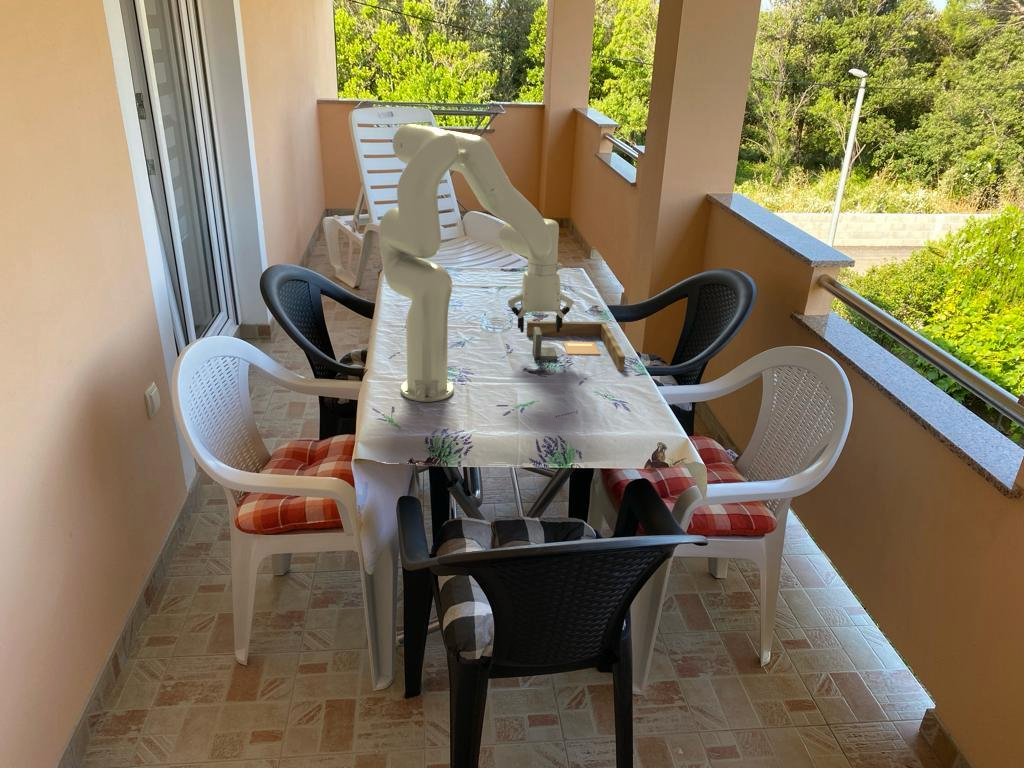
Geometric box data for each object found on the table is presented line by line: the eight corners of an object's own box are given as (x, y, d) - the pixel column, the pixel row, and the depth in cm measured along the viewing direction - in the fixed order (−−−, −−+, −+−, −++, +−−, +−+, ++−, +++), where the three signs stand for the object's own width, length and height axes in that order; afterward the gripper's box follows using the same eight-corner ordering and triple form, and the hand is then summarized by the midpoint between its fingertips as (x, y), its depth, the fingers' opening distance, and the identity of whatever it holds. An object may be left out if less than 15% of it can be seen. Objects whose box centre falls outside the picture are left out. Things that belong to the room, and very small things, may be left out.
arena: (623, 370, 194) (625, 356, 192) (536, 370, 192) (537, 355, 190) (604, 335, 218) (605, 322, 216) (526, 334, 216) (527, 321, 214)
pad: (599, 355, 203) (600, 353, 203) (567, 354, 202) (567, 353, 202) (594, 343, 211) (594, 341, 211) (562, 342, 211) (562, 341, 210)
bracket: (532, 352, 203) (533, 326, 200) (554, 352, 203) (555, 327, 200) (534, 361, 197) (536, 334, 194) (557, 361, 198) (558, 335, 195)
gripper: (573, 264, 194) (569, 325, 202) (507, 264, 193) (506, 325, 200) (577, 272, 188) (573, 335, 195) (509, 272, 186) (508, 336, 194)
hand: (539, 330), depth 198 cm, fingers open, 9 cm apart
